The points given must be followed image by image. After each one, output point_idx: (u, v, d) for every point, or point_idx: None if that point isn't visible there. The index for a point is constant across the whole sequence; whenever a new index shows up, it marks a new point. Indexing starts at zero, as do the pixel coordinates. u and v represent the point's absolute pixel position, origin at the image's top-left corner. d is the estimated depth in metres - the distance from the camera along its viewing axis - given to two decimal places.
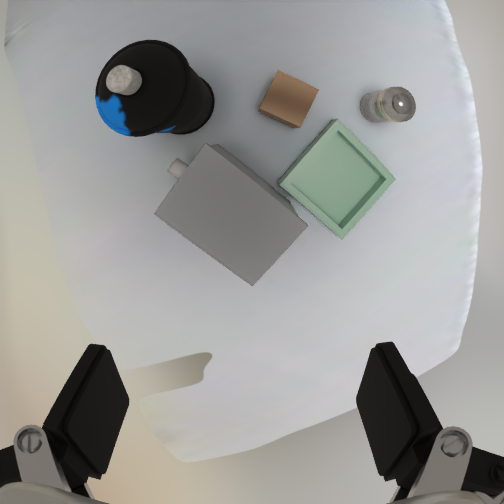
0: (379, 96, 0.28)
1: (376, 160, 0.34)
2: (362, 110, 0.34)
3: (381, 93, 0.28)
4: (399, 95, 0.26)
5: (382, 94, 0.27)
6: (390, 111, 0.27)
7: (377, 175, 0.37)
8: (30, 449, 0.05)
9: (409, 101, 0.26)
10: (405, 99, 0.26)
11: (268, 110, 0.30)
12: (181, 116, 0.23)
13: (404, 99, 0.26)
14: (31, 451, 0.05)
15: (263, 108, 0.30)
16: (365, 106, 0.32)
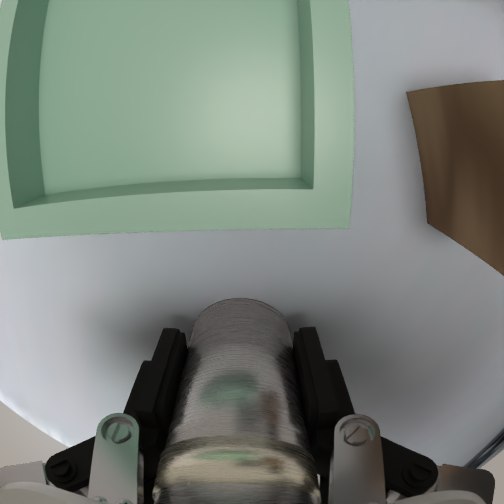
0: (311, 463, 0.06)
1: (81, 226, 0.07)
2: (267, 314, 0.11)
3: None
4: None
5: (316, 489, 0.05)
6: None
7: (54, 187, 0.09)
8: (114, 437, 0.06)
9: None
10: None
11: None
12: None
13: None
14: (116, 440, 0.06)
15: None
16: (280, 344, 0.09)
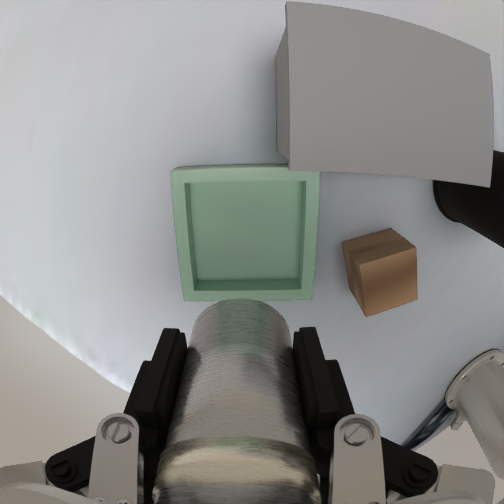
0: (311, 463, 0.06)
1: (227, 298, 0.25)
2: (267, 314, 0.11)
3: None
4: None
5: (316, 489, 0.05)
6: None
7: (202, 278, 0.27)
8: (114, 436, 0.06)
9: None
10: None
11: (405, 252, 0.21)
12: None
13: None
14: (116, 440, 0.06)
15: (411, 250, 0.21)
16: (280, 344, 0.09)
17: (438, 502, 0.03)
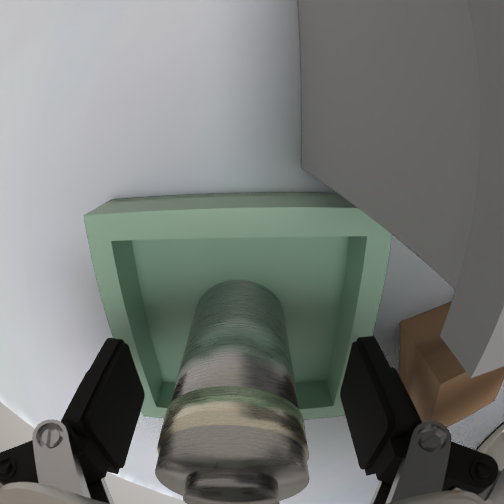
0: (299, 419, 0.07)
1: None
2: (262, 293, 0.12)
3: (305, 435, 0.07)
4: None
5: None
6: (240, 459, 0.05)
7: (171, 380, 0.15)
8: (49, 443, 0.05)
9: None
10: None
11: None
12: None
13: None
14: (51, 446, 0.05)
15: None
16: (273, 318, 0.11)
17: (438, 502, 0.03)
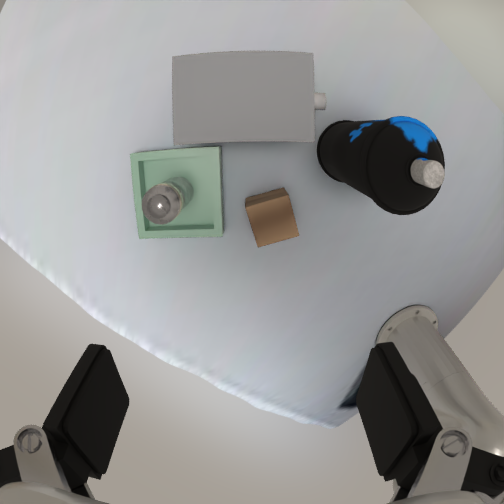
0: (181, 195, 0.31)
1: (166, 236, 0.37)
2: (184, 179, 0.35)
3: (181, 199, 0.31)
4: (166, 210, 0.29)
5: (180, 199, 0.30)
6: (161, 189, 0.29)
7: (152, 225, 0.38)
8: (30, 449, 0.05)
9: (154, 215, 0.29)
10: (159, 212, 0.29)
11: (280, 199, 0.33)
12: (353, 155, 0.23)
13: (160, 211, 0.29)
14: (32, 451, 0.05)
15: (285, 197, 0.33)
16: (184, 182, 0.34)
17: (438, 502, 0.03)
